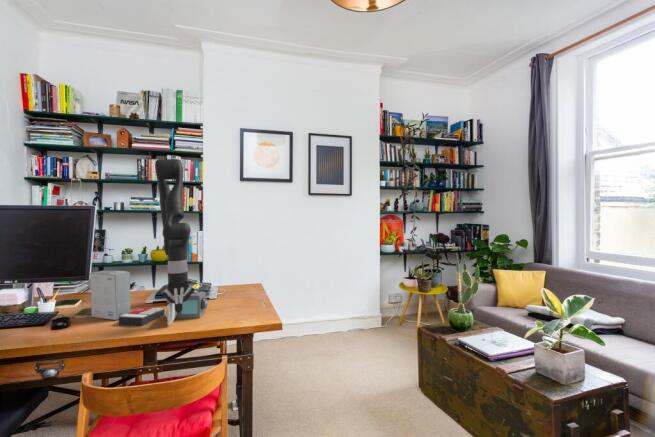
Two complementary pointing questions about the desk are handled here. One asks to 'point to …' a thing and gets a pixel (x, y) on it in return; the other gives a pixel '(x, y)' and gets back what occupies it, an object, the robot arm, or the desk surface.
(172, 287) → the robot arm
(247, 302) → the desk surface
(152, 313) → the calculator
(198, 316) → the camera body
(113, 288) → the hard drive box
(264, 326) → the desk surface
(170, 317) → the side door
